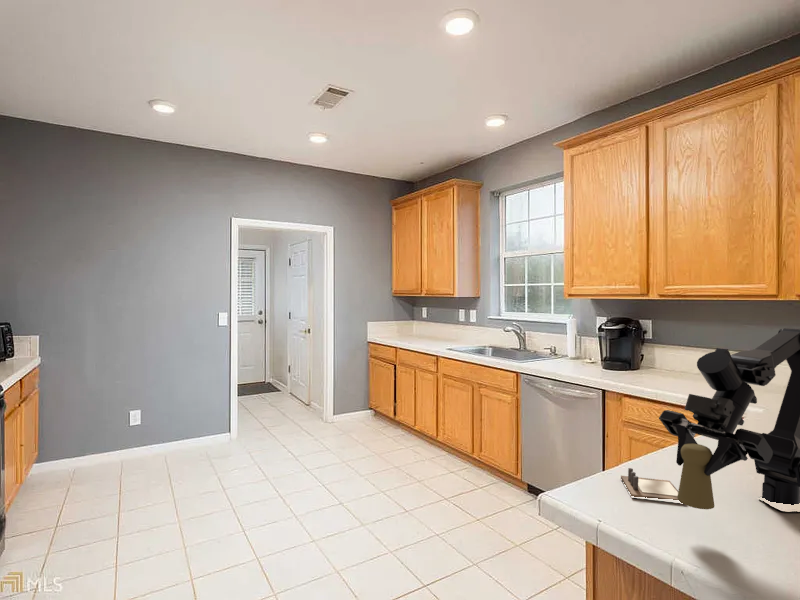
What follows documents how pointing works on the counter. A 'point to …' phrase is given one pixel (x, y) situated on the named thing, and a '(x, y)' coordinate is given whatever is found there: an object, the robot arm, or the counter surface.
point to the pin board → (649, 487)
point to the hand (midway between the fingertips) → (691, 469)
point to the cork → (695, 477)
